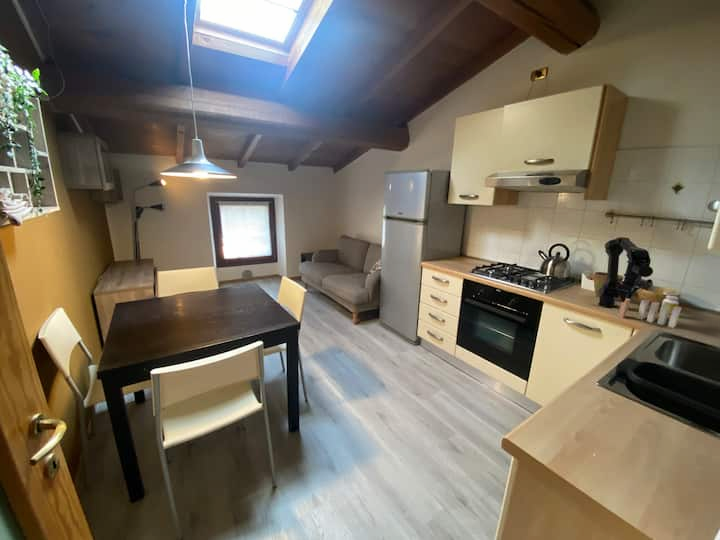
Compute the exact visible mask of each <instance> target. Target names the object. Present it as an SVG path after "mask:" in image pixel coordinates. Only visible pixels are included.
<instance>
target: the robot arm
mask: <svg viewBox="0 0 720 540" xmlns="http://www.w3.org/2000/svg"><path fill="white" fill-rule="evenodd" d="M604 248H605V249H604V251H605V253H606V254H607V256H608V259H607V272H606V273H607V280H606V281H605V282H604V283H603V286H602V287H601V288H600V290H599V291H598V294H599V295H601V296H600V298H599V300H598V303H597V305H598V304H599V305H598V306H601V305H602V307H605V308H609V309H610V308H613V307H615V305H616V301H617V300H616V299H617V298H619V299H620V302H621V303H622V302H625V300H626V298H627V299H630V300H631V299H632V298H633V296H634V294H635V293H636V291H639V290H642V289H643V290H646V291H649V290H650V289H651V288H652V287H653V286H654V281H653V280H652V279H650V278H649V277H650V276H652V275H653V273H654V269H653V268H652V267H651V266H650V265H651V262H652V260H651V257H650V253H649V251H648V249H645V248H642V247H638V245H636V244H635V243H634V242H633V241H631V239H630V238H629V237H624V236H623V237H622V236H619V237H616V238H615V239H611V240H608V241H607V242H605V245H604ZM624 251H625V252H626V255H625V256H626V257H627V259H628V260H627V261H626V263H627V265H626V269H625V272H624V273H623V277H624V279H623V281H622V283H619V282H618V275H619V263H620V256H621V255H622V253H624ZM642 277H643V278H642ZM644 278H649V279H647V280H646V279H644Z"/></svg>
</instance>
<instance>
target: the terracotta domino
mask: <svg viewBox="0 0 720 540" xmlns="http://www.w3.org/2000/svg"><path fill="white" fill-rule="evenodd" d="M630 302H631V299H627V298H626V300H625V302H621V303H620V307H619V311H618V316H617V318H621V319H623V318H626V317H627V314H628V310H629V307H630Z"/></svg>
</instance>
